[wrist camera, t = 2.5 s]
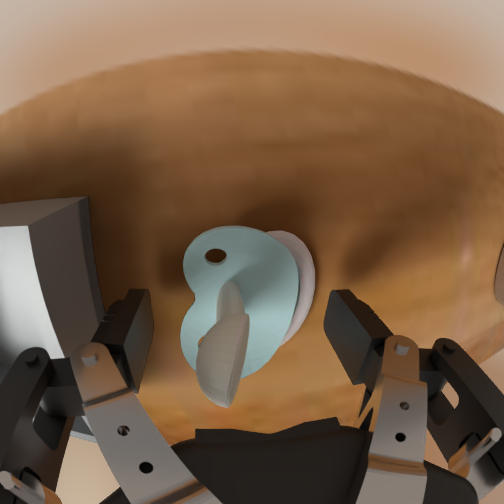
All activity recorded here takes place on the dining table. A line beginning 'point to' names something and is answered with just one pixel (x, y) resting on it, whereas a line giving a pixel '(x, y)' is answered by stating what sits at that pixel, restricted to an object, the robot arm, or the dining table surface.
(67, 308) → the bin
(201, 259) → the pacifier
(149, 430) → the robot arm
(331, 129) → the dining table surface
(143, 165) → the dining table surface
